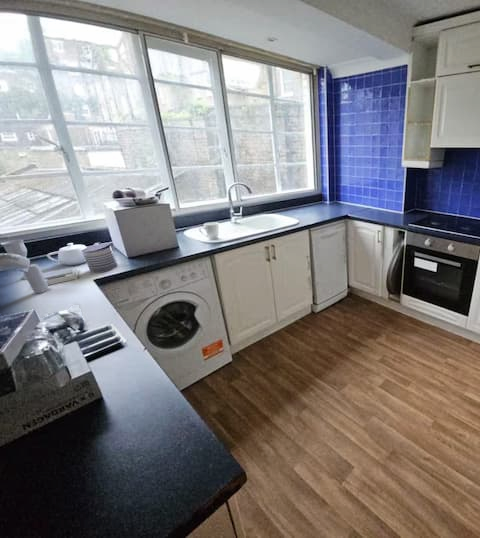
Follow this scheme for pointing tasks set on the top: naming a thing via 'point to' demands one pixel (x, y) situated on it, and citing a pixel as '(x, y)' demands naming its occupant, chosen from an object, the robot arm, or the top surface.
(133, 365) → the top surface
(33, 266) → the beverage can
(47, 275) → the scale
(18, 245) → the chalice
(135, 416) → the top surface
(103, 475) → the top surface
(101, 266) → the grey ribbed cylinder
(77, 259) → the teapot
